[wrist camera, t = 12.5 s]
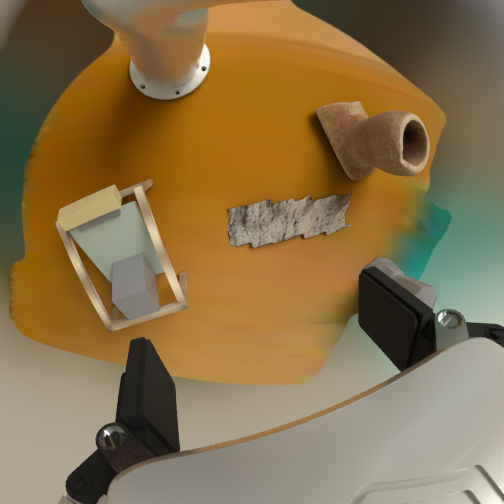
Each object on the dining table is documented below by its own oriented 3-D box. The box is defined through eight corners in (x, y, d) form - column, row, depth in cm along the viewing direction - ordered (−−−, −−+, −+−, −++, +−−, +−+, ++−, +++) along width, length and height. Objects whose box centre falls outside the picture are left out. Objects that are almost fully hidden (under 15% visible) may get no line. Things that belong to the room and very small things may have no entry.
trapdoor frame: (81, 206, 39) (55, 222, 29) (151, 177, 40) (141, 185, 31) (120, 298, 46) (109, 332, 36) (186, 276, 47) (188, 307, 38)
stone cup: (388, 159, 48) (444, 168, 35) (344, 186, 48) (398, 202, 35) (358, 89, 42) (413, 77, 29) (309, 110, 42) (359, 99, 28)
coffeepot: (346, 283, 56) (398, 329, 39) (370, 244, 54) (430, 281, 38) (386, 305, 61) (433, 346, 45) (407, 272, 60) (459, 307, 43)
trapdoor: (55, 206, 28) (50, 223, 26) (123, 175, 29) (122, 191, 27) (115, 283, 42) (116, 299, 40) (169, 264, 43) (172, 280, 41)
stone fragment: (219, 209, 46) (235, 262, 50) (221, 212, 43) (238, 268, 47) (351, 172, 48) (358, 221, 52) (360, 173, 46) (366, 225, 50)
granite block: (112, 263, 37) (112, 301, 32) (142, 252, 38) (145, 290, 33) (127, 283, 41) (129, 320, 36) (155, 273, 41) (160, 310, 37)
